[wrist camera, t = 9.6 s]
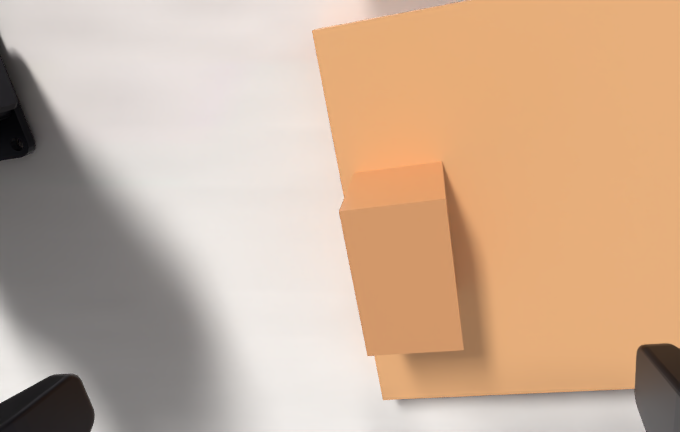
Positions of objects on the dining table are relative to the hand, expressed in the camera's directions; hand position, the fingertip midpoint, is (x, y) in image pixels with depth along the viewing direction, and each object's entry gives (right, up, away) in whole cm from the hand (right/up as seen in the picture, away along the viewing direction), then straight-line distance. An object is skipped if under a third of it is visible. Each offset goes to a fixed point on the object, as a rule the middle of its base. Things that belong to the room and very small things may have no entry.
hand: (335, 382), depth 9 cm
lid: (+8, +3, +10) cm, 13 cm away
